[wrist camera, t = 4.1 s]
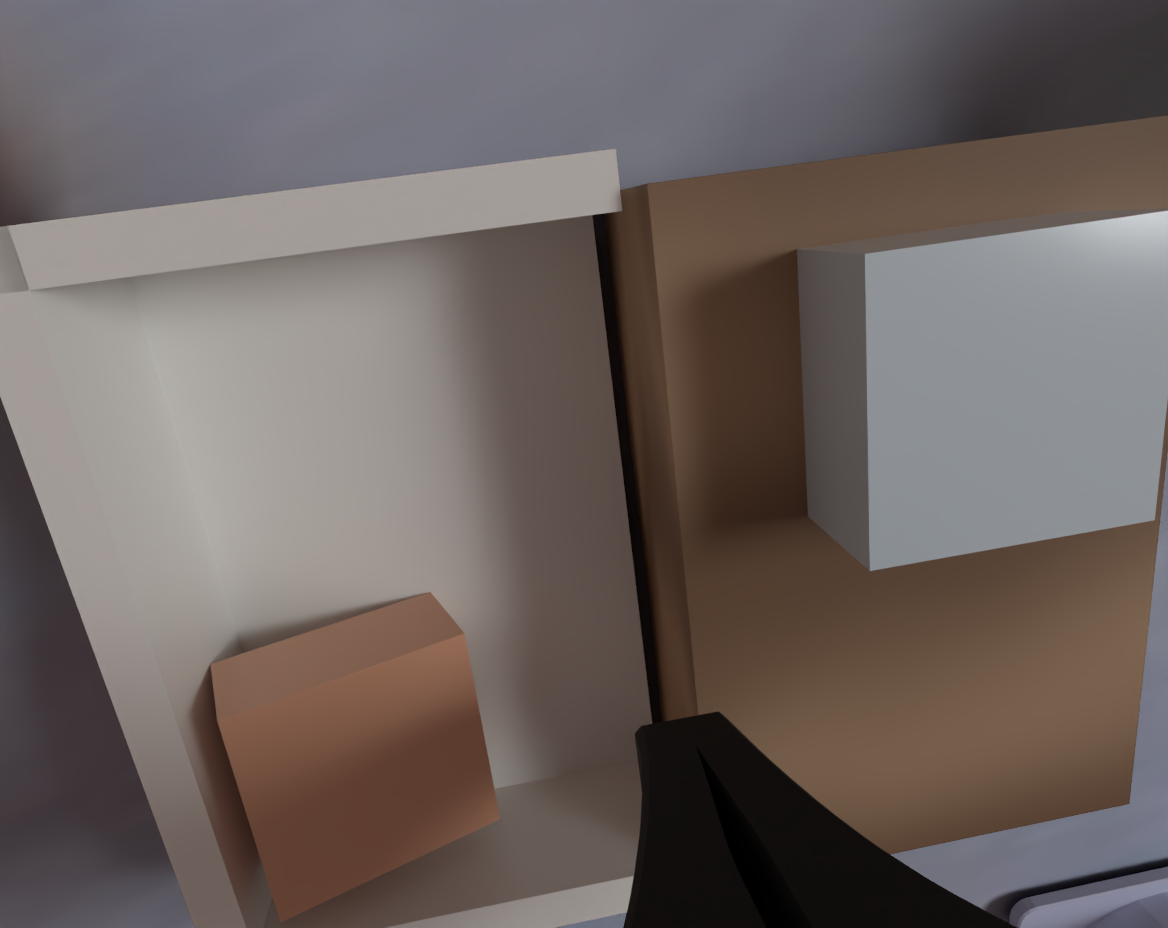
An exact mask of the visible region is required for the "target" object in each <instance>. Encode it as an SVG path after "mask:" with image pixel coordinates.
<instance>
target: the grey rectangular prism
mask: <svg viewBox="0 0 1168 928" xmlns="http://www.w3.org/2000/svg"><path fill="white" fill-rule="evenodd" d="M797 264H798V289H799V313H800V337H801V361H802V386H803V410H804V434H805V458H806V483H807V507H808V517H809V518H810V519H811V520H813V521H814V522H815V523H816V524H817V525H818V526H819V527H820V528H822V529H823V530H824V531H825V532H826V533H827V534H828V535H830V536H831V537H832V538H833V539H834V540H835V541H836V542H837V543H839V544H840V545H841V546H842V547H843V548H844V549H845V550H846V551H848V552H849V553H850V554H851V555H852V556H853V557H854V558H856V559H857V560H858V561H859V562H860V563H861V564H862V565H863V566H865V567H866V568H867V569H868V570H869V571H873V570H879V569H884V568H890V567H895V566H901V565H907V564H912V563H918V562H923V561H929V560H935V559H940V558H946V557H951V556H957V555H963V554H968V553H974V552H979V551H985V550H991V549H996V548H1002V547H1008V546H1013V545H1019V544H1024V543H1030V542H1036V541H1041V540H1047V539H1052V538H1058V537H1064V536H1069V535H1075V534H1080V533H1086V532H1092V531H1097V530H1103V529H1108V528H1114V527H1120V526H1125V525H1131V524H1136V523H1142V522H1148V521H1153V520H1155V513H1156V504H1157V494H1158V485H1159V476H1160V466H1161V457H1162V448H1163V438H1164V429H1165V419H1166V410H1167V401H1168V208H1165V209H1126V210H1087V211H1063V212H1056V213H1049V214H1042V215H1035V216H1028V217H1021V218H1014V219H1007V220H999V221H992V222H985V223H978V224H971V225H964V226H957V227H950V228H943V229H935V230H928V231H921V232H914V233H907V234H900V235H893V236H886V237H879V238H872V239H864V240H857V241H850V242H843V243H836V244H829V245H822V246H815V247H808V248H801V249H797Z"/></svg>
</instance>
